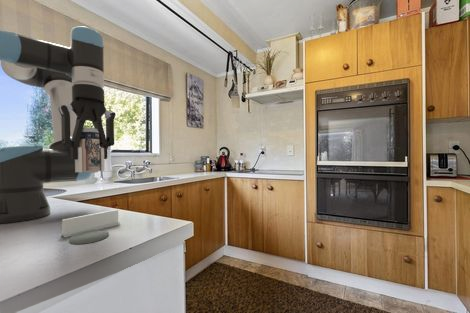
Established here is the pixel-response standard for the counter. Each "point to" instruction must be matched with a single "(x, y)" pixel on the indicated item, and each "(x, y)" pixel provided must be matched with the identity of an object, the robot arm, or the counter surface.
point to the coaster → (88, 237)
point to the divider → (89, 223)
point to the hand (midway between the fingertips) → (90, 171)
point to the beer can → (90, 150)
